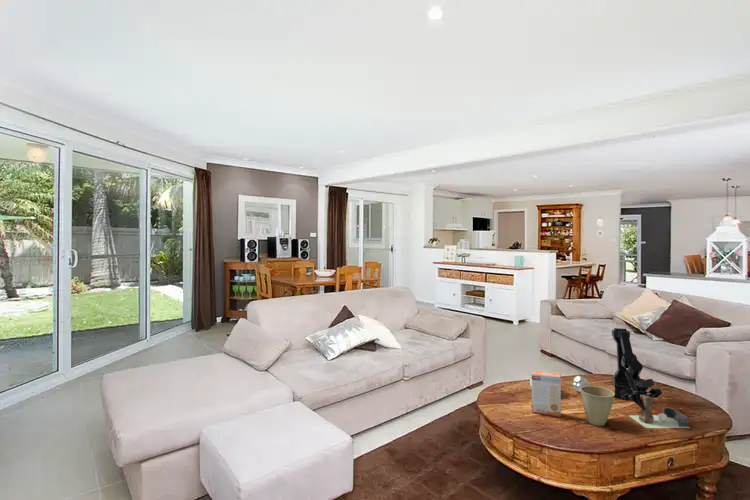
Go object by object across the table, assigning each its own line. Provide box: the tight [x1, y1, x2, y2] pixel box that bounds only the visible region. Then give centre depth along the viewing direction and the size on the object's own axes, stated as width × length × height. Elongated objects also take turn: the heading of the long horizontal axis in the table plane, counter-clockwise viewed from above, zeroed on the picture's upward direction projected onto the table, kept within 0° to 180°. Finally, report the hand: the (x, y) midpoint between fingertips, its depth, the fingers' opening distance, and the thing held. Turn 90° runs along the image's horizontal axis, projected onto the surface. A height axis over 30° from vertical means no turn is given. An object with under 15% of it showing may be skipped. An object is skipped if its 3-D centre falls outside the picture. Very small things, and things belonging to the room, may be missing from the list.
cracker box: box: [531, 370, 562, 418], centre depth 218 cm, size 14×6×21 cm, turn 65°
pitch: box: [628, 414, 691, 429], centre depth 206 cm, size 21×14×1 cm, turn 90°
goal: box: [662, 407, 689, 427], centre depth 206 cm, size 4×12×4 cm, turn 0°
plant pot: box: [580, 385, 615, 427], centre depth 206 cm, size 15×15×16 cm
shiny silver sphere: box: [572, 375, 590, 394], centre depth 247 cm, size 9×10×10 cm
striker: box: [638, 395, 654, 423], centre depth 206 cm, size 4×4×12 cm
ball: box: [657, 412, 668, 422], centre depth 206 cm, size 4×4×4 cm
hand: (648, 409), depth 204 cm, fingers closed on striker, 3 cm apart
